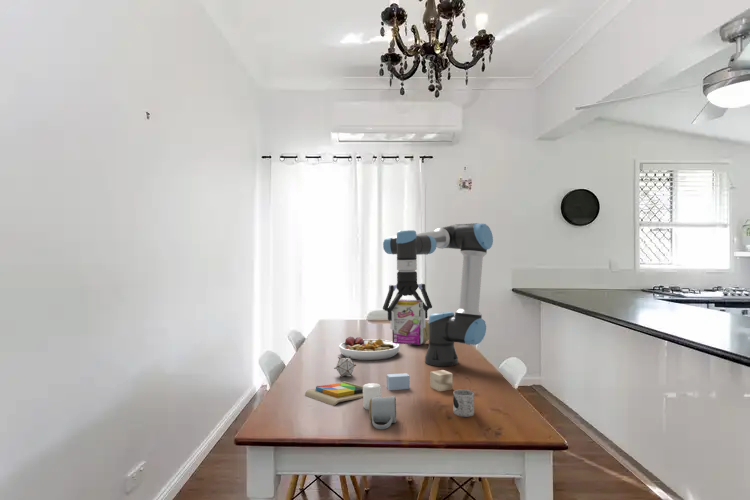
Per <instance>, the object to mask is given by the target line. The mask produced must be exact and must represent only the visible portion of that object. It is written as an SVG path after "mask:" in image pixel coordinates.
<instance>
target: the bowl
mask: <svg viewBox="0 0 750 500" xmlns="http://www.w3.org/2000/svg"><path fill="white" fill-rule="evenodd" d="M399 350H400V344H398V343H393V340H388V339H387V340H386V339H381V338H378V339H375V338H367V339H363V338H362V337H361V336H358V337H356V338H355V337H353V336H348V337H346V339H345V341H344V342H342V343H340V344H339V351H340V353H341V355H342V356H344V357H345V358H349V356H350V359H351V360H352V359H353V360H359V361H360V360H361V361H379V360H386V359H390V358H393V357H394V356H396V355H397V354H398V352H399Z"/></svg>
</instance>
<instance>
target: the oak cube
mask: <svg viewBox="0 0 750 500" xmlns="http://www.w3.org/2000/svg"><path fill="white" fill-rule="evenodd" d="M429 373H430V374H429V377H430V378H429V379H430V380H429V382H430V383H429V384H430V385H429V386H430V388H431V389H433V390H435V391H438V392H444V391H450V390H453V388H454V387H453V386H454V385H453V381H454V380H453V376H454V375H453V373H452V372H450V371H447V370H444V369H441V370H440V369H439V370H433V371H430V372H429Z"/></svg>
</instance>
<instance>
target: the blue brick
mask: <svg viewBox="0 0 750 500" xmlns="http://www.w3.org/2000/svg"><path fill="white" fill-rule="evenodd" d="M410 378H411V377H410V375H409V374H408V373H407V372H405V373H404V372H403V373H390V374H388V373H387V374H386V388H387V390H388V391H396V390H397V391H398V390H399V391H400V390H409V389H410V388H411V387H410V384H411V383H410V382H411V381H410V380H411V379H410Z"/></svg>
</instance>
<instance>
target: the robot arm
mask: <svg viewBox="0 0 750 500" xmlns="http://www.w3.org/2000/svg"><path fill="white" fill-rule="evenodd" d="M493 238H494V237H493V232H492V230H491V228H490V227H489V225H487V224H486V223H479V222H476V223H473V222H472V223H458V224H457V223H455V224H451V225H448V226H447V225H446V226H443V227H438V228H436V229H435V230H431V231H423V232H419V233H417V232H416V230H414V229H413V230H408V229H407V230H398V231H397V232H396V235H391V236H386V237H385V238H384V240H383V242H382V246H383V247H382V249H383V250H384V252H385V253H386V254H388V255H396V270H397V272H396V280H397V281H396V285H394V284H389V285H388V292H387V295H386V298H385V301H384V304H383V307H382V310H383V311H384V312H387V320H388V321H389V324H390V325H389V326H390V327H389V328H390V330H394V312H392V310H393V309H394V307H395V306H396V304H397V303H398V301H399V300H400V299H401V298H402V297H403V296H405V297H407V296H411V297H412V296H413V297H414V299H415V300H422V298H421V297H420V295H419V294H418V293H417V290H418V289H419V290H420V292H421V295H422V297H423V328H425V320H426V319H428V324H429V340H428V348H427V350H426V354H425V357H424V362H425V364H427V365H429V366H435V367H451V366H455V365H458V364H459V357H458V354H457V351H456V348H455V343H459V344H464V345H469V346H470V345H471V346H472V345H473V346H476V345H479V344H480V343H481V342H482V341H483V340H484V338H485V336H486V333H487V323H486V321H485V320H484V319H483V318H482V317H483V315H482V313H481V312H480V298H481V287H482V286H481V285H482V271H483V261H484V257H486V255H487V253H488V252H487V251H488V250H490V249H491V248H492V247H493V245H494V244H493V243H494V239H493ZM437 248H438V249H442V250H443V249H451V250H452V249H454V250H460V254H462V256H463V258H462V259H463V260H462V269H461V270H462V271H461V280H460V281H461V282H460V283H461V285H460V294H459V304H458V305H459V306H458V309H457V310H456V311H455V313H454V312H453V311H446V312H435V313H430V315H429V316H428V311H429V309H432V308H433V304H432V302H431V300H430V296H429V295H428V293H427V290H426V284H425V283H418V273H417V270H418V267H417V266H418V264H417V262H418V261H417V255H419V256H421V255H430V254H434V252H435V251H436V249H437ZM396 290H397V293H396V295H395V297H394V298H393V294H394V292H395V291H396ZM392 298H393V300H392ZM391 300H392V301H393V302H392V301H391Z"/></svg>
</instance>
